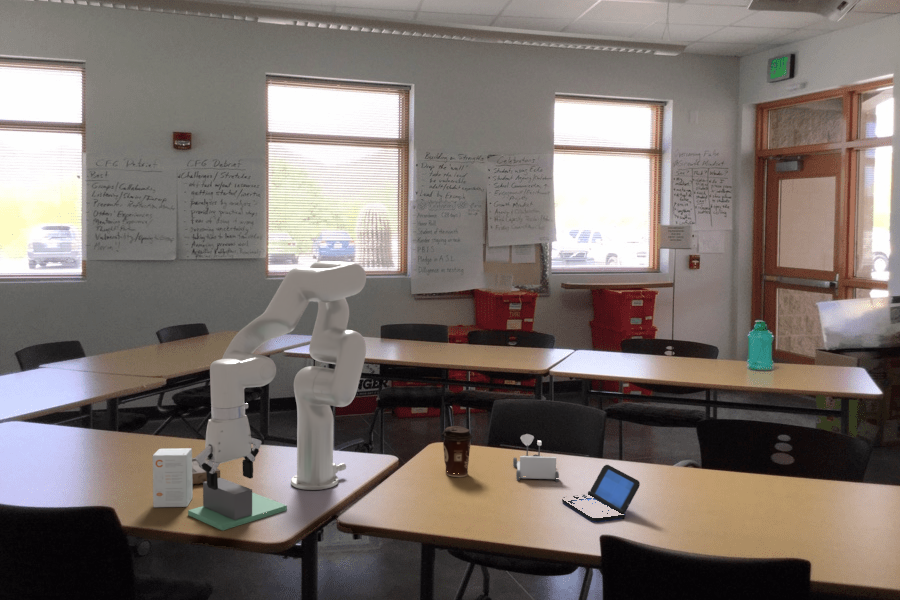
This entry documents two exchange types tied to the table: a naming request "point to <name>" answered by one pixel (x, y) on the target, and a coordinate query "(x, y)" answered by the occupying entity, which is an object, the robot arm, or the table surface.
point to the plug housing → (228, 499)
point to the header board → (223, 522)
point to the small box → (172, 477)
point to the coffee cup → (456, 450)
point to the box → (200, 472)
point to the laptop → (610, 492)
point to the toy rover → (535, 463)
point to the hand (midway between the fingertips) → (230, 482)
